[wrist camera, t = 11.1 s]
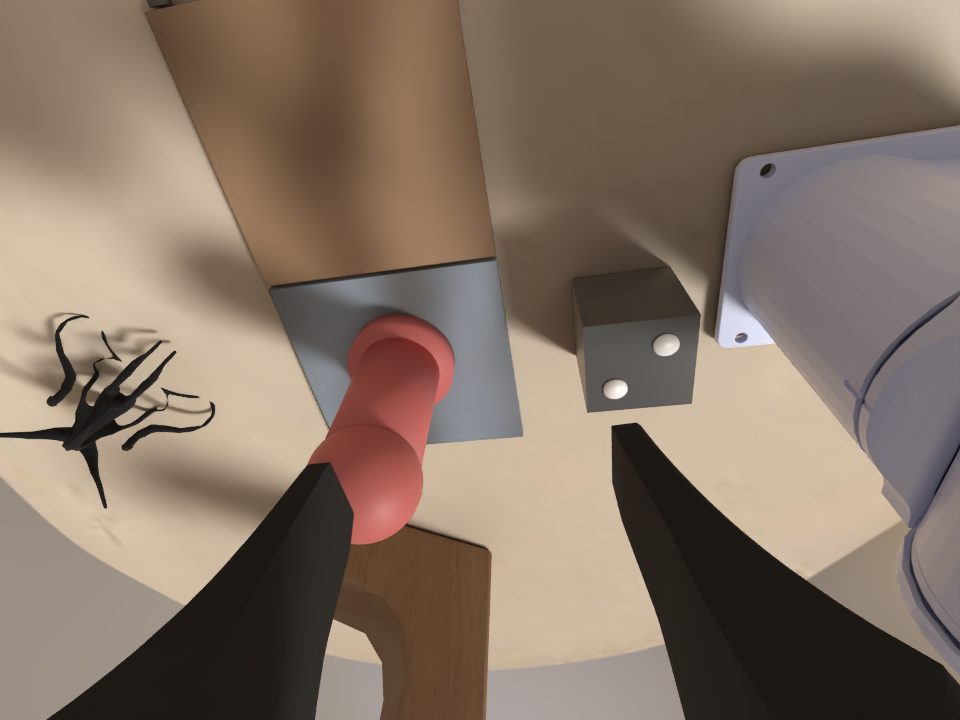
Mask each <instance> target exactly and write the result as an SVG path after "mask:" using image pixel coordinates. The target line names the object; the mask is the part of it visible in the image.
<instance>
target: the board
mask: <svg viewBox="0 0 960 720" xmlns="http://www.w3.org/2000/svg"><path fill="white" fill-rule="evenodd" d="M147 2H148V4H149V6H150V7H154V8H156V7H160V6H165V5H169V4H172V2H171V0H147ZM144 13H145V15H146V17H147V20H148V22H149V24H150V26H151V29H152V31H153V33H154V35H155V38H156V40H157V42H158V44H159V47H160V49H161V51H162V53H163V56H164V58H165V60H166V62H167V65H168V67H169V69H170V71H171V74H172V76H173V78H174V80H175V83H176V85H177V87H178V89H179V92H180V94H181V96H182V98H183V100H184V103H185V105H186V107H187V109H188V112H189V114H190V116H191V118H192V121H193V123H194V125H195V127H196V130H197V132H198V134H199V136H200V139H201V141H202V143H203V145H204V148H205V150H206V152H207V154H208V157H209V159H210V161H211V163H212V166H213V168H214V170H215V172H216V175H217V177H218V179H219V181H220V183H221V186H222V188H223V190H224V192H225V195H226V197H227V199H228V201H229V204H230V206H231V208H232V210H233V213H234V215H235V217H236V219H237V222H238V224H239V226H240V228H241V231H242V233H243V235H244V237H245V240H246V242H247V244H248V246H249V249H250V251H251V253H252V255H253V258H254V260H255V262H256V264H257V266H258V269H259V271H260V273H261V275H262V278H263V280H264V282H265V284H266V286H272V287H271V288H270V289H269V290H268V291H269V293H270V296H271V298H272V300H273V302H274V305H275V307H276V309H277V311H278V314H279V316H280V318H281V320H282V323H283V325H284V327H285V329H286V332H287V334H288V336H289V338H290V341H291V343H292V345H293V347H294V350H295V352H296V354H297V356H298V358H299V361H300V363H301V365H302V367H303V370H304V372H305V374H306V376H307V379H308V381H309V383H310V385H311V388H312V390H313V392H314V394H315V397H316V399H317V401H318V403H319V406H320V408H321V410H322V412H323V415H324V417H325V419H326V421H327V424H328V426H329V428H330V427H331V425H332V423H333V420H334V418H335V416H336V414H337V411H338V409H339V407H340V405H341V402H342V400H343V398H344V396H345V393H346V391H347V389H348V387H349V385H350V382H351V379H350V376H349V373H348V369H347V358H348V353H349V351H350V348H351V346H352V344H353V342H354V340H355V338H356V336H357V334H358V333H359V331H360V330H361V329H362V328H363V327H364V326H365V325H366V324H367V323H369V322H370V321H372V320H374V319H376V318H378V317H381V316H385V315H390V314H405V315H411V316H415V317H418V318H421V319H423V320H425V321H427V322H429V323H431V324H432V325H434V326H435V327H437V328H438V329H439V330H440V331H441V332H442V333H443V334H444V335H445V336H446V338H447V339H448V341H449V342H450V344H451V346H452V348H453V352H454V356H455V367H454V373H453V379H452V384H451V387H450V389H449V391H448V393H447V394H446V395H445V397H444V398H443V399H442V400H441V401H439V402H438V403H437V404H435V405H434V407H433V412H432V417H431V422H430V427H429V432H428V436H427V441H426V444H437V443H449V442H461V441H474V440H486V439H498V438H511V437H523V429H522V422H521V416H520V409H519V402H518V396H517V389H516V383H515V376H514V369H513V363H512V356H511V350H510V343H509V337H508V330H507V323H506V317H505V310H504V304H503V297H502V290H501V284H500V277H499V271H498V264H497V258H496V257H492V256H495V255H496V251H495V244H494V238H493V231H492V225H491V218H490V212H489V205H488V198H487V192H486V185H485V179H484V172H483V165H482V159H481V152H480V146H479V139H478V133H477V126H476V119H475V113H474V106H473V100H472V93H471V87H470V80H469V73H468V67H467V60H466V54H465V47H464V40H463V34H462V27H461V21H460V14H459V8H458V1H457V0H198V1H193V2H189V3H184V4H180V5H175V6H171V7H166V8H162V9H157V10H153V11H148V12H144ZM485 257H491V258H485ZM477 258H483V259H477ZM470 259H476V260H470ZM462 260H468V261H462ZM455 261H461V262H455ZM447 262H453V263H447ZM439 263H445V264H439ZM432 264H438V265H432ZM424 265H430V266H424ZM417 266H423V267H417ZM409 267H415V268H409ZM401 268H407V269H401ZM394 269H400V270H394ZM386 270H392V271H386ZM379 271H385V272H379ZM371 272H377V273H371ZM364 273H370V274H364ZM356 274H362V275H356ZM348 275H354V276H348ZM341 276H347V277H341ZM333 277H339V278H333ZM326 278H332V279H326ZM318 279H324V280H318ZM310 280H316V281H310ZM303 281H309V282H303ZM295 282H301V283H295ZM288 283H294V284H288ZM280 284H286V285H280ZM273 285H278V286H273Z"/></svg>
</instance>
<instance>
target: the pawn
mask: <svg viewBox="0 0 960 720" xmlns="http://www.w3.org/2000/svg"><path fill="white" fill-rule="evenodd" d="M454 367H455V356H454V352H453V348H452V346H451V344H450V342H449V341H448V339H447V338H446V336H445V335H444V334H443V333H442V332H441V331H440V330H439V329H438V328H437V327H435V326H434V325H432V324H431V323H429V322H427V321H425V320H423V319H421V318H418V317H415V316H411V315H405V314H390V315H385V316H381V317H378V318H376V319H374V320H372V321H370V322H369V323H367V324H366V325H365V326H364V327H363V328H362V329H361V330H360V331H359V333H358V334H357V336H356V338H355V340H354V342H353V344H352V346H351V348H350V351H349V353H348V358H347V369H348V373H349V376H350V379H351V382H350V385H349V387H348V389H347V391H346V393H345V396H344V398H343V400H342V402H341V405H340V407H339V409H338V411H337V414H336V416H335V418H334V420H333V423H332V425H331V427H330V429H329V432H328V434H327V436H326V438H325V440H324V441H323V442H322V443H321V444H320V445H319V446H318V447H317V449H316V450H315V451H314V453H313V454H312V456H311V458H310V460H309V462H308V464H307V465H309V464H317V463H325V462H331V465H332V467H333V469H334V471H335V473H336V475H337V477H338V480H339V482H340V484H341V486H342V488H343V490H344V492H345V494H346V497H347V499H348V501H349V503H350V505H351V507H352V509H353V512H354V520H353V530H352V538H351V544H371V543H375V542H378V541H381V540H384V539H386V538H388V537H390V536H392V535H393V534H395V533H396V532H397V531H399V530H400V529H401V528H402V527H403V526H404V525H405V524H406V523H407V522H408V521H409V520H410V518H411V517H412V515H413V514H414V512H415V511H416V509H417V506H418V504H419V501H420V498H421V495H422V489H423V472H422V468H421V466H422V461H423V456H424V451H425V446H426V441H427V436H428V432H429V427H430V422H431V417H432V412H433V407H434V405H435V404H437V403H438V402H439V401H441V400H442V399H443V398H444V397H445V395H446V394H447V393H448V391H449V389H450V387H451V384H452V379H453V373H454Z"/></svg>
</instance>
